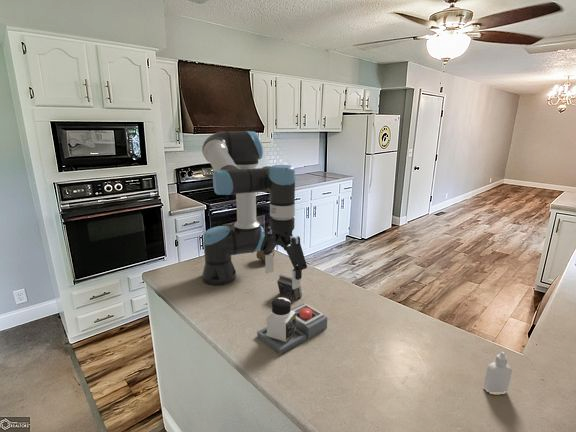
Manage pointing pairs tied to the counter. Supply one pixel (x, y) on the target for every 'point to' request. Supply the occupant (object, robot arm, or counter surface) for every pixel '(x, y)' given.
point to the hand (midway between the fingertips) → (282, 279)
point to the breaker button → (305, 314)
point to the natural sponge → (262, 255)
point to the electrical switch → (288, 287)
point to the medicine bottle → (281, 320)
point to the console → (297, 330)
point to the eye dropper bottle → (498, 374)
